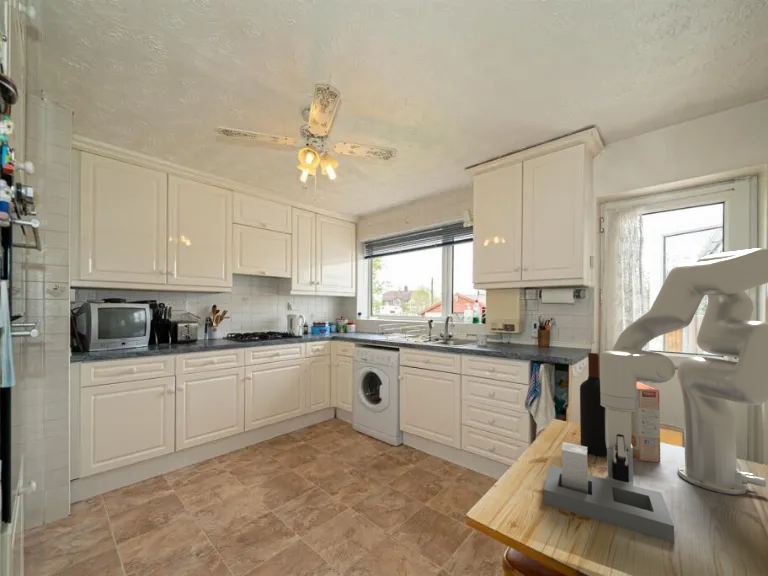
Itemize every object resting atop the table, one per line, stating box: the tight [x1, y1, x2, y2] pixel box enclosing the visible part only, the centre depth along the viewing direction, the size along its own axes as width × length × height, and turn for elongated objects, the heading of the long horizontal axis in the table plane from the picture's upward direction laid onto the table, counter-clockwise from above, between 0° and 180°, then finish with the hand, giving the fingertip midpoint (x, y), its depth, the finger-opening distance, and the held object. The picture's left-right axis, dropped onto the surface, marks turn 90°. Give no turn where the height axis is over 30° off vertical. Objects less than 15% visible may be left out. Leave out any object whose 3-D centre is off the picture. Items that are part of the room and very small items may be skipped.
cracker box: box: [631, 381, 661, 463], centre depth 102 cm, size 14×6×21 cm, turn 168°
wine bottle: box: [579, 352, 607, 458], centre depth 102 cm, size 8×8×30 cm
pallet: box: [543, 465, 675, 543], centre depth 73 cm, size 22×13×4 cm, turn 58°
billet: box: [561, 441, 589, 494], centre depth 76 cm, size 5×5×11 cm
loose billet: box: [606, 444, 634, 486], centre depth 82 cm, size 5×5×11 cm
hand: (619, 474), depth 82 cm, fingers closed on loose billet, 5 cm apart
